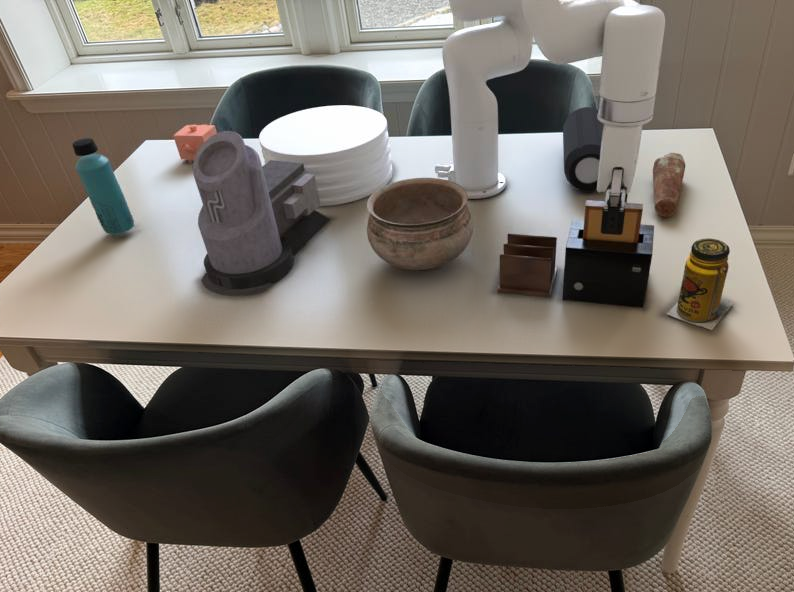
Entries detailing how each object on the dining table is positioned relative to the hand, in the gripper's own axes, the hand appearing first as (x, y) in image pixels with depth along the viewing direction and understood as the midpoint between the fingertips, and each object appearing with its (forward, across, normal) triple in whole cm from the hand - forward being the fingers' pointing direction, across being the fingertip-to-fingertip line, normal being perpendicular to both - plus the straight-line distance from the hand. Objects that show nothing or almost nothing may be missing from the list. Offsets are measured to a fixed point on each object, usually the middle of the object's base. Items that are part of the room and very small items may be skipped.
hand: (613, 218), depth 103 cm
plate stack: (+13, -35, -64) cm, 74 cm away
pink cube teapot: (+12, -41, -102) cm, 111 cm away
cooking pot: (+13, -4, -33) cm, 36 cm away
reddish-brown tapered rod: (+13, -35, +9) cm, 38 cm away
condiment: (+14, +3, +15) cm, 20 cm away
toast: (+9, 0, 0) cm, 9 cm away
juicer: (+13, -2, -64) cm, 66 cm away
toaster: (+13, 0, 0) cm, 13 cm away
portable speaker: (+13, -46, -8) cm, 48 cm away
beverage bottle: (+13, -4, -99) cm, 100 cm away
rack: (+13, 0, -13) cm, 19 cm away
